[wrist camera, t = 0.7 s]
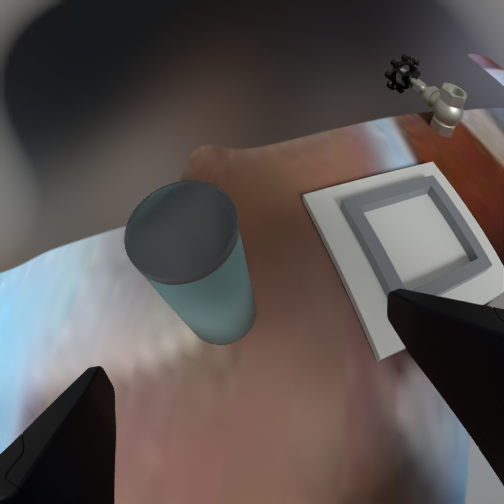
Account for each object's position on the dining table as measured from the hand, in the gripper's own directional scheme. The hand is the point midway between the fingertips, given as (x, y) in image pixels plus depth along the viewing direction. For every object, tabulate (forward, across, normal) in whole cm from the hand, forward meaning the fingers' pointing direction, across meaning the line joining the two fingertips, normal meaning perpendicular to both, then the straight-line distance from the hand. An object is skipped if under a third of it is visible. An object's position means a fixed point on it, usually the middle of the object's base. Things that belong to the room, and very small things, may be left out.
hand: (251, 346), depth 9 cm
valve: (+28, -32, -6) cm, 43 cm away
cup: (+15, +1, +7) cm, 17 cm away
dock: (+14, -17, +6) cm, 23 cm away
